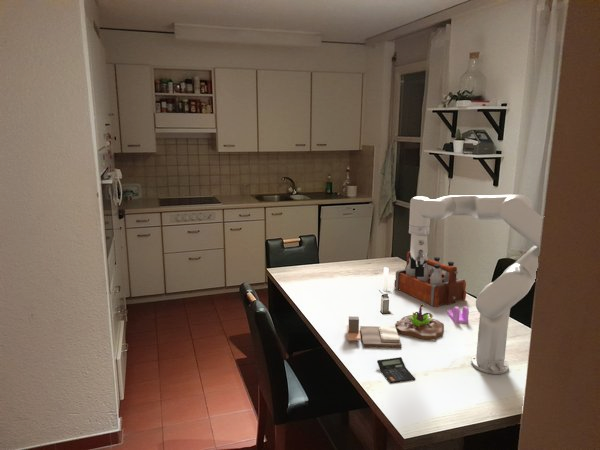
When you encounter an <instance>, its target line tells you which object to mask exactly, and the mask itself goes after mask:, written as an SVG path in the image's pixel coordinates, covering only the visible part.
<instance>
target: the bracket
mask: <svg viewBox="0 0 600 450" xmlns="http://www.w3.org/2000/svg"><path fill="white" fill-rule="evenodd" d="M469 314H470V309H469V307H468V306H463V307H462V312H461V311H460V308H459V306H454V307H453V308H449V309H447V315H448V316H449V317H450V319H451V320H452V321H453V322H454V323H455V324H468V323H469Z"/></svg>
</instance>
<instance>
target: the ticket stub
mask: <svg viewBox="0 0 600 450" xmlns="http://www.w3.org/2000/svg"><path fill="white" fill-rule="evenodd" d="M359 318H360V317H359V316H351V315H350V316H348V324H347V325H346V333H347V340H348V341H362V336H361V330H360V319H359Z"/></svg>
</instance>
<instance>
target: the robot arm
mask: <svg viewBox="0 0 600 450" xmlns="http://www.w3.org/2000/svg"><path fill="white" fill-rule="evenodd" d="M532 207H533V206H532V201H531V199H529V197H527V196H526V195H523V194H517V193H516V194H514V193H513V194H493V195H492V194H491V195H490V194H489V195H488V194H487V195H485V194H484V195H447V196H446V195H445V196H441V197H438V198H436V199H435V198H434V199H431V198H429V196H428V197H427V196H414V197H412V198H411V199H410V201H409V219H408V220H409V223H408V224H409V225H408V227H409V228H408V234H410V247H409V248H410V249H409V251H410V253H411V264H410V268H411V269H415V277H424V260H425V261H426V260H427V253H428V246H429V245H428V235H430V224H431V219H432V220H434V221H435V220H436V221H440V220H443V219H446V218H447V217H450V216H470V217H473V218H475V219H477V220H480V221H481V220H482V221H492V220H493V221H494V220H495V221H497V220H498V221H499V220H503V222H505V223H506V224H507V225H508V226H509V227H510V228H512V229H513V230H514V231H515V232H516V233H518V235H520V236H521V237H523V238H524V239H525V240H526V241H528V242H529V243H530V244H531V245H533V246H531V248H529V249H528V250H527V251H526V252H525V253H524V254H523V255H522V256H521V257H519V259H517V260H515V262H514V263H512V264H511V265H509V266H508V267H507V268H506V269H504V271H503V273H502V274H501V275H500V276H498V277H497V278H496V279H495V280H494V281H491V282H489V283H488V284H486V285H485V286H484V287H483V288H482V289H481V291H480V292H479V294H478V295H477V296H476V299H475V307H476V310H477V312H478V313H479V322H478V334H477V344H476V345H477V346H476V355H474V356H472V358H471V361H470V362H471V365H472V367H474V368H475V369H476V370H478V371H481V372H483V373H486V374H492V375H500V374H501V375H502V374H505V373H507V372H508V370H509V363H508V362H507V361H506V360H505V358H506V349H507V340H508V339H507V338H508V330H509V321H510V314H511V313H510V312H511V308H512V307H513V306H515V305H516V304H517V303H518V302H520V301H521V300H522V299H523V298H524V297H526V295H528V293H529V291H531V288H532V286H533V285H534V283H535V282H536V281H535V279H536V271H537V265H538V256H539V247H540V236H541V227H542V218H543V217H544V216H541V215H540V214H539V213H538V212H537V211H535V210H534V209H533V208H532ZM418 258H420V259H418Z"/></svg>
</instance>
